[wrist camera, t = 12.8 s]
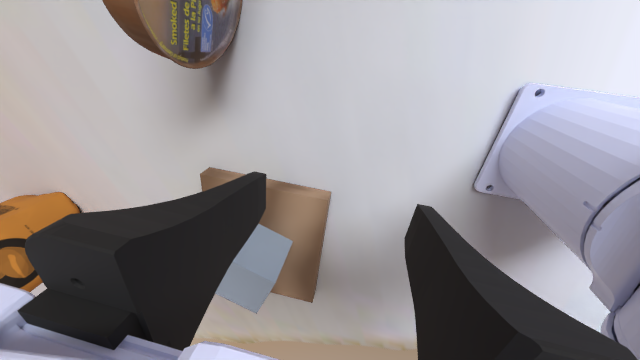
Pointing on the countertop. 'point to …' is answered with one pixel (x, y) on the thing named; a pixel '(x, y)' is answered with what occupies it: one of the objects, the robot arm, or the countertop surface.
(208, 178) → the walnut board
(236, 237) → the robot arm
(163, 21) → the tin
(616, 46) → the countertop surface
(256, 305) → the slate cube
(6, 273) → the coffee package
